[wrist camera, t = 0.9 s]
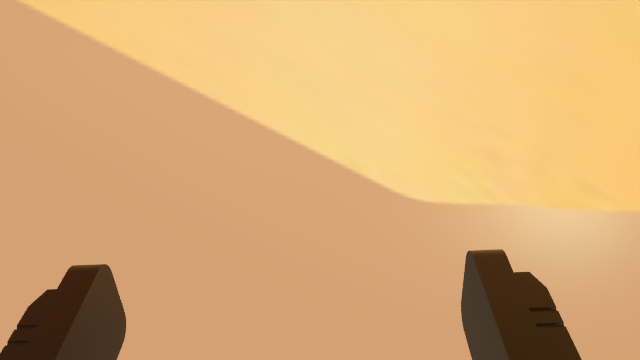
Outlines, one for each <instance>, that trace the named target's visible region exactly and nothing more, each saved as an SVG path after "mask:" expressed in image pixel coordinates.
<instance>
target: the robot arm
mask: <svg viewBox="0 0 640 360" xmlns="http://www.w3.org/2000/svg"><path fill="white" fill-rule="evenodd" d="M461 313H462V322H463V328H464V331H465V335H466V339H467V342H468V346H469V350H470V353H471V356H472V360H581V358H580V356H579V353H578V351H577V349H576V347H575V345H574V343H573V341H572V339H571V337H570V335H569V333H568V331H567V329H566V327H564V322H563V320H562V318H561V316H560V314H559V312H558V311H556V306H555V304H554V302H553V300H552V298H551V296H550V293H549V291H548V290H547V288H546V287H545V286H544V285H543V284H542V283H541V282H540V281H538V279H536V278H535V277H534V276H533V275H532V274H531V273H530V272H515V273H514V272H513V270H512V268H511V265H510V263H509V261H508V258H507V256H506V254H505V252H504V251H503V250H479V251H478V250H476V251H468V252H467V255H466V263H465V272H464V281H463V290H462V300H461ZM125 332H126V317H125V312H124V309H123V306H122V303H121V300H120V296H119V294H118V290H117V287H116V284H115V281H114V278H113V275H112V272H111V269H110V267H109V266H108V265H106V264H102V265H77V266H72V267H70V268H69V269H68V271H67V272H66V274H65V276H64V278H63V279H62V281H61V283H60V285H59V287H58V289H53V290H47V291H45V292H44V293H43V294H42V295H41V296H40V297H39V298H38V299H36V300H35V301H34V302H33V303H32V304H31V305H30V306H29V307H28V308H27V310H26V312H25V313H24V315H23V317H22V318H21V320H20V321H19V323H18V325H17V330H14V332H13V333H12V335H11V337H10V338H9V340H8V345H7V346H5V347H4V348H3V350H2V352H1V353H0V360H117V357H118V355H119V352H120V349H121V347H122V344H123V341H124V338H125Z"/></svg>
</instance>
